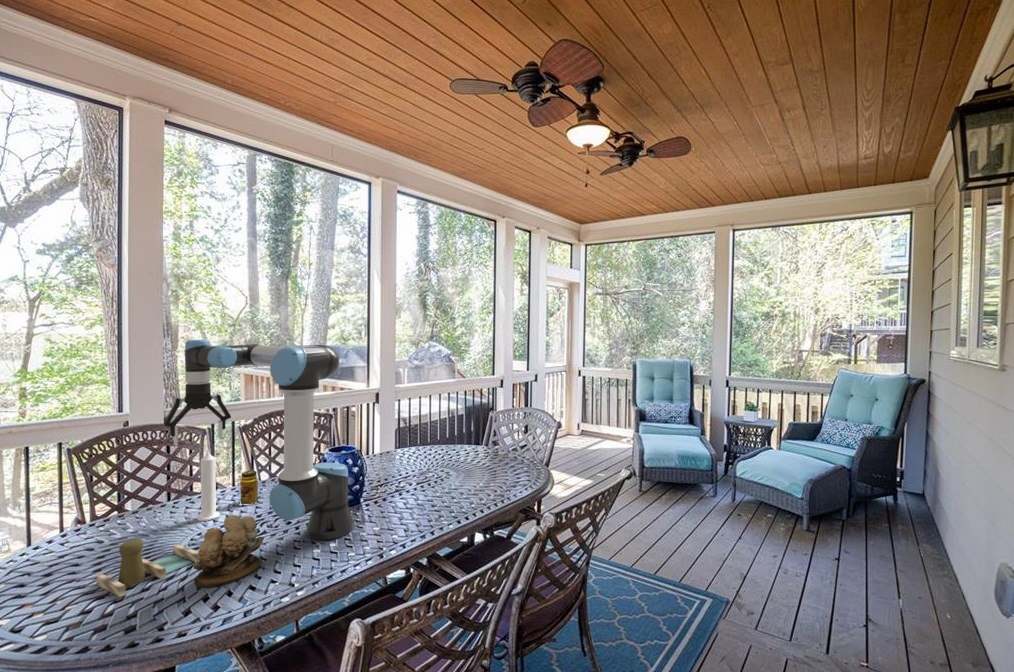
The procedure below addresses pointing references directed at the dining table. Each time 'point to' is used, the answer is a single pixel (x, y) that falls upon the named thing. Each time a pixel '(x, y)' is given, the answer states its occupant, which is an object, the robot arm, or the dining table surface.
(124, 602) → the dining table surface
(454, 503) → the dining table surface
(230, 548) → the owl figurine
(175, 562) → the notched rack
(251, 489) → the condiment
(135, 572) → the olive pawn
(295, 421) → the robot arm
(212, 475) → the candle
